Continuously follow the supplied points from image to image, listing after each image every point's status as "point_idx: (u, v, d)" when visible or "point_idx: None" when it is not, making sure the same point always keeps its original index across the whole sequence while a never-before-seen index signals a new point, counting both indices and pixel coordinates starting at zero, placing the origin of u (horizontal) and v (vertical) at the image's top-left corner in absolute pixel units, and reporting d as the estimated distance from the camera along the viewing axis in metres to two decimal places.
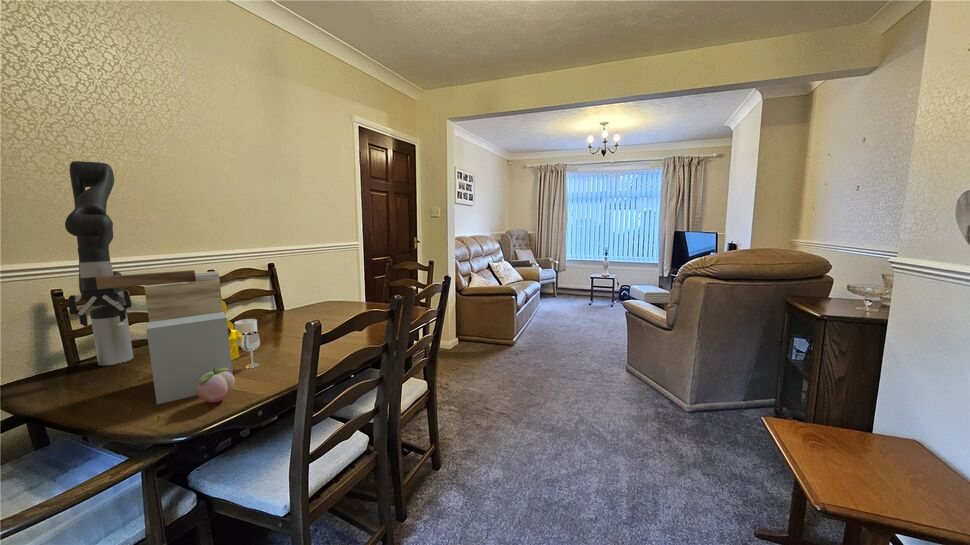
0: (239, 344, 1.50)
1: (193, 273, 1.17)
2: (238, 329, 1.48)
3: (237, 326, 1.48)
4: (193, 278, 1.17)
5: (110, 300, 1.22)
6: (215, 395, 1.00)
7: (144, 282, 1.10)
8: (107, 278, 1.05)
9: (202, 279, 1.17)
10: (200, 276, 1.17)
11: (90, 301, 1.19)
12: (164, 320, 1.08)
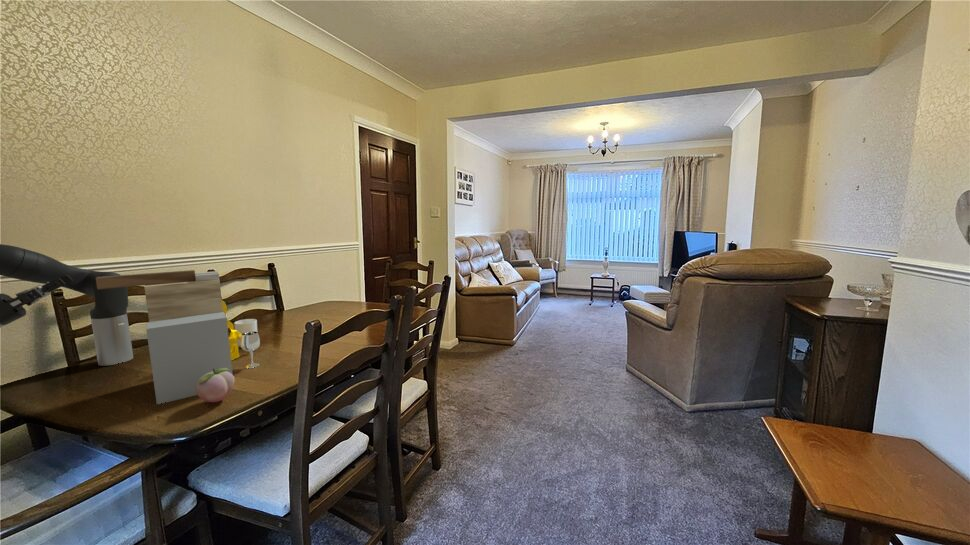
0: (239, 344, 1.50)
1: (193, 273, 1.17)
2: (238, 329, 1.48)
3: (237, 326, 1.48)
4: (193, 278, 1.17)
5: (35, 301, 0.99)
6: (214, 395, 1.00)
7: (144, 282, 1.10)
8: (107, 278, 1.05)
9: (202, 279, 1.17)
10: (200, 276, 1.17)
11: (38, 300, 1.03)
12: (164, 320, 1.08)
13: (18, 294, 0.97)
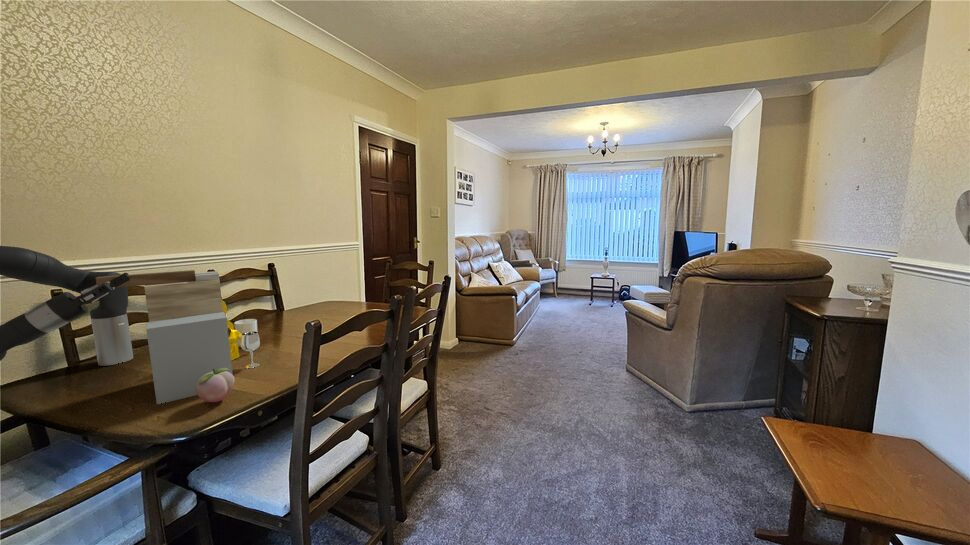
0: (239, 344, 1.50)
1: (193, 273, 1.17)
2: (238, 329, 1.48)
3: (237, 326, 1.48)
4: (193, 278, 1.17)
5: (99, 298, 1.04)
6: (214, 395, 1.00)
7: (144, 282, 1.10)
8: (107, 278, 1.05)
9: (202, 279, 1.17)
10: (200, 276, 1.17)
11: None
12: (164, 320, 1.08)
13: (84, 291, 1.02)
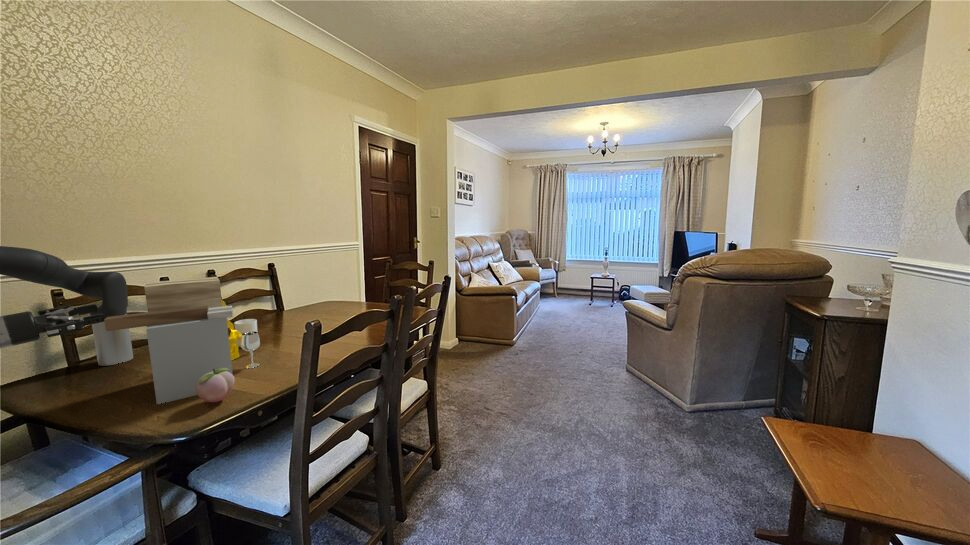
0: (239, 344, 1.50)
1: (206, 310, 1.10)
2: (238, 329, 1.48)
3: (237, 326, 1.48)
4: (206, 315, 1.10)
5: None
6: (214, 395, 1.00)
7: (155, 321, 1.03)
8: (116, 319, 0.99)
9: (214, 317, 1.09)
10: (212, 314, 1.09)
11: None
12: None
13: (51, 318, 0.92)
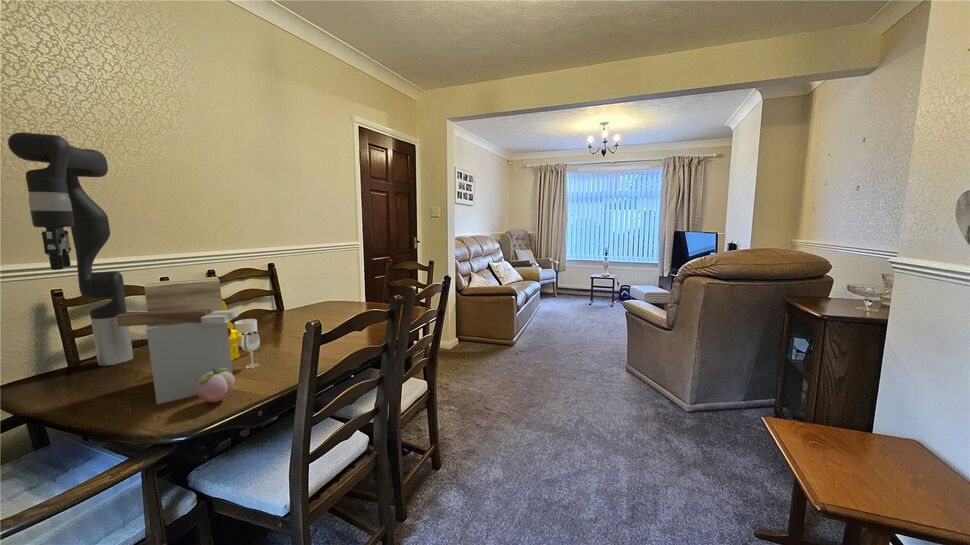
0: (239, 344, 1.50)
1: (204, 314, 1.06)
2: (238, 329, 1.48)
3: (237, 326, 1.48)
4: None
5: None
6: (214, 395, 1.00)
7: (158, 321, 1.04)
8: (126, 316, 1.02)
9: (208, 322, 1.04)
10: (206, 318, 1.04)
11: None
12: None
13: (63, 236, 1.01)
